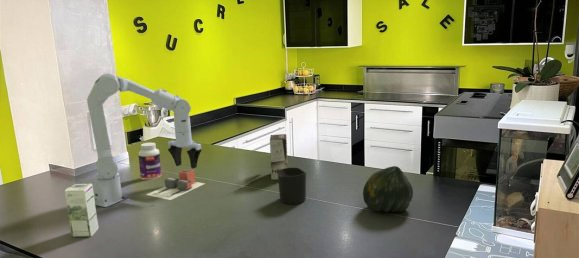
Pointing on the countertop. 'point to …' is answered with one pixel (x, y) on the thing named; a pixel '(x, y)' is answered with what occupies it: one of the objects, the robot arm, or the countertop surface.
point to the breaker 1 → (171, 182)
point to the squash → (388, 190)
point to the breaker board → (172, 192)
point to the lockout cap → (187, 175)
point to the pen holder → (292, 185)
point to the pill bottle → (149, 161)
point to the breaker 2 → (184, 185)
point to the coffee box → (278, 154)
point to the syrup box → (81, 210)
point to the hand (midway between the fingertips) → (186, 166)
